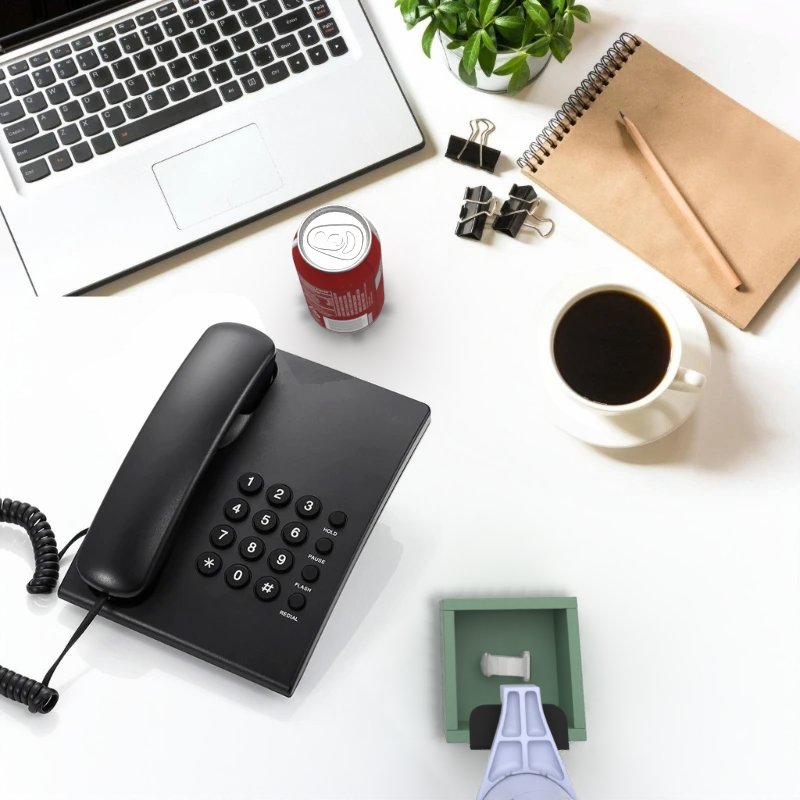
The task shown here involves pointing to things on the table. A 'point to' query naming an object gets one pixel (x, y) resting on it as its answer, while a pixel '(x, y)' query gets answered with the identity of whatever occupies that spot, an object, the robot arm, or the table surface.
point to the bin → (509, 636)
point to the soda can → (340, 268)
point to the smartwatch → (507, 665)
